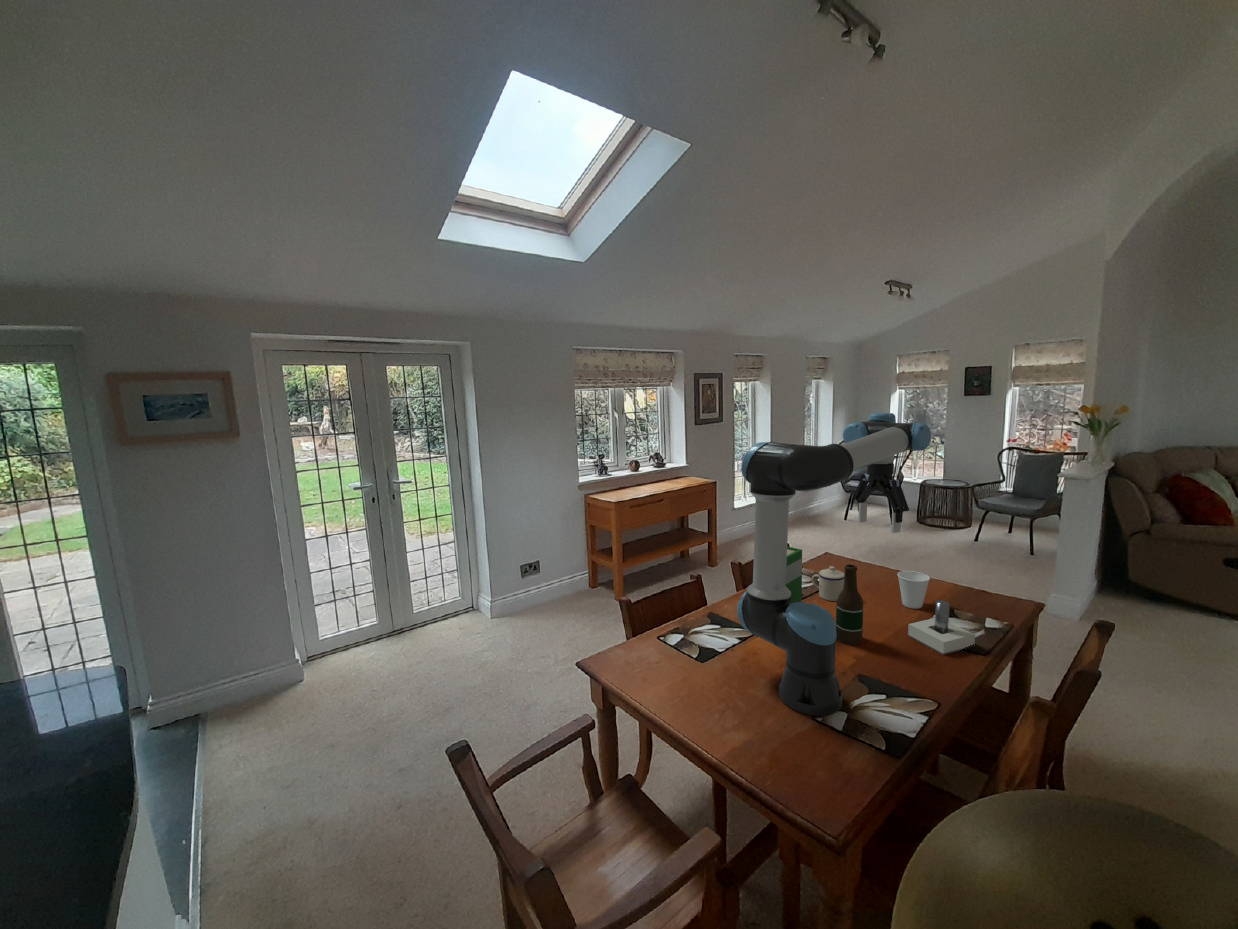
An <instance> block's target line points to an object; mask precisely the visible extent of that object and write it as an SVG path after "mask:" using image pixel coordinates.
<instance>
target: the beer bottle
mask: <svg viewBox="0 0 1238 929" xmlns="http://www.w3.org/2000/svg"><path fill="white" fill-rule="evenodd" d="M843 569H844V574H845V577H844V587H843V590H842V591H841V592H840V594H839V596H838V599H837V601H836V607H835V608H836V612H835V624H836V633H837V638H836V640H838V641H839V642H840V643H842V644H846V645H850V646H854V645H855V646H856V645H860V644H861V643H862V640H863V632H864V631H863V630H864V629H863V628H864V600H863V597H862V595H861V593H860V592H859V590H858V589H859V588H858V582H857V578H858V577H857V571H858V566H856V565H854V564H850V563H849V564H845V565H844V568H843Z"/></svg>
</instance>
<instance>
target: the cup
mask: <svg viewBox="0 0 1238 929" xmlns="http://www.w3.org/2000/svg"><path fill="white" fill-rule="evenodd" d="M897 576H898V583H899V589H900V596H901V603H902V605H903V606H904V607H906V608H909V609H914V610H915V609H921V608H922V607H923V605H924V601H925V597H926V593H927V591H928V586H929V585H928V584H929V582H930V580H931V577H930V576H929V575H928V574H925V573H922V572H921V571H920V572H919V571H913V570H901V571H899V572H897Z"/></svg>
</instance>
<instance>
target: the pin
mask: <svg viewBox="0 0 1238 929" xmlns="http://www.w3.org/2000/svg"><path fill="white" fill-rule="evenodd" d="M934 615H935V616H934V618H935V631H936V632H938V633H940V634H946V633H948V622H949V619H950V602H948V601H946V600H944V599H943V600H942V599H937V600H935V614H934ZM949 623H950V622H949Z"/></svg>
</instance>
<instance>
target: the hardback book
mask: <svg viewBox="0 0 1238 929" xmlns="http://www.w3.org/2000/svg"><path fill="white" fill-rule="evenodd" d="M802 586H803V548H802V549H800V548H796V547H792V546H788V545H787V564H786V587H787V588H788V589H789V590H790V592H791V604H792V603H796V602H803V600H802V598H803V596H802V594H803V592H802V590H803V589H802V588H803V587H802Z"/></svg>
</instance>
